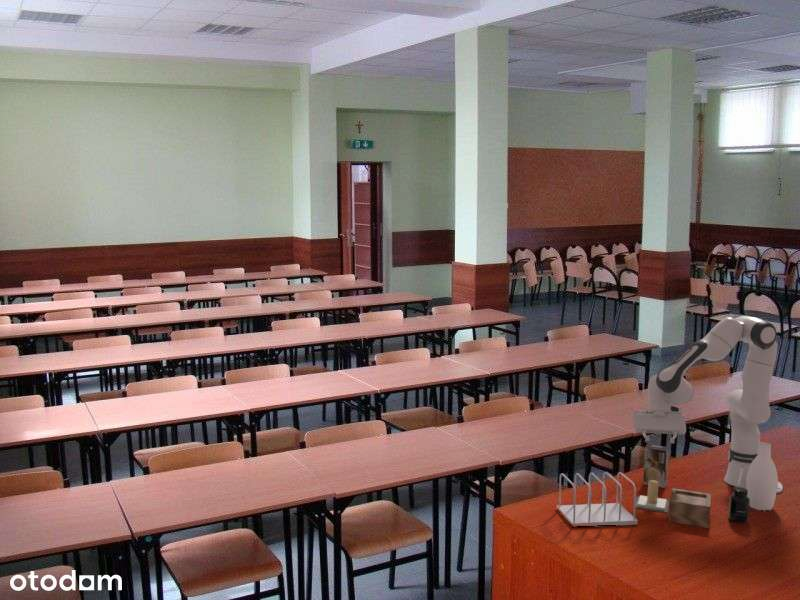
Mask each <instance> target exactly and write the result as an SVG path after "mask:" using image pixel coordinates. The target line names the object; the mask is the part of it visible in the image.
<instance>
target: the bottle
mask: <svg viewBox="0 0 800 600" xmlns="http://www.w3.org/2000/svg"><path fill="white" fill-rule="evenodd" d="M771 449H772V444H771V443H770V442H766V441H760V442H759V448H758V455H757V456H756V458H755V459H754V460H753V461H752V463H751V465H750V467H749V470H748V474H747V483H746V489H747V490H748V495H747V497H749V499H750V507H749V508H751V509H753V508H754V509H753V510H756V509H757V511H761V510H763V511H762V512H767V511H766V510H769V511H772V510H773V508H774V504H775V501H776V498H777V493H776V492H777V485H778V482H779V478H778V471H777V468H776V464H775V462H774V461H773V459H772V456H771V454H772V453H771V452H772V450H771Z"/></svg>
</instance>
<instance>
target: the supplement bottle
mask: <svg viewBox="0 0 800 600" xmlns="http://www.w3.org/2000/svg"><path fill="white" fill-rule="evenodd" d="M732 493H733V494H731V495H730V497H729V506H728V516H727V517H728V519H729V520H730V521H732V522H734V523H737V524H746V523H747V522H749V516H750V515H749V514H750V507H749V506H750V499H749V497H747V495H748V490H747V489H745V488H742V487H735V486H734V487H733V492H732Z"/></svg>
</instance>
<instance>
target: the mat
mask: <svg viewBox="0 0 800 600" xmlns="http://www.w3.org/2000/svg"><path fill="white" fill-rule="evenodd" d="M639 498H640V496H636V509H637V510H638V509H639V510H644V511H650V512H651V511H652V512H657V513H662V514H668V512H669V501H670V500H669V501H668V500H667V502H666V506H665V511H663V510H656V509H650V508H644V507H638V506H637V504H638V501H639Z"/></svg>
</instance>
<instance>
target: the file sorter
mask: <svg viewBox="0 0 800 600" xmlns="http://www.w3.org/2000/svg"><path fill="white" fill-rule="evenodd" d="M606 475H607V476H608V477H609V478H610V479H611V480H612V481H614V482H615V483H616V493H615V495H616V498H615V500H616V501H615V502H614V503H613V502H612V503H609V502H608V503H607V486H606V485H605V478H606ZM577 476H578V477H579V478H580V480H582V482H584V484H586V486H588V489H587V491H588V492H587V503H586V504H576V501H577V500H576V499H577V497H576V496H577V494H576V493H577V492H576V491H577ZM591 476H593V478H594V479H596V480H597V481H598V482H599V483H600V484H601V485H602V489H601V491H602V494H601V495H602V496H601V503H592V488H591ZM620 476H621V477H623V478H625V480H626V481H628V482H629V483H631V484H632V486H633V491H634V492H633V493H634V494H633V514H631V512H629V511H628V510H627V509H626V508H625V507H624V506H623V505H622V501H623V488H622V485H621V483H620V482H619V481H620V480H619V477H620ZM562 477H563V478H564V479H566V480H567V482H568V483H569V484H570V485H571V486H572V487H573V504H565V505H564V504H562V505H561V501H562V499H561V498H562ZM558 485H559V486H558V505H556V509H557V508H558V509H559V510H560V511H561V512H562V514H563V515H564V516H565V517H566V518H567V519H568V521H569V522H570V523H571V524H572V525H594V526H595V527H597V526H596V525H616V526H633V525H637V526H638V523H639V522H638V519H637V518H636V509H637V508H636V500H637V489H636V488H637V487H636V485H635V482H634V481H632V480H631V479H630V478H629V477H628V476H627V475H625V474H624V473H622V472H621V471H618V473H617V475H616V478H615V477H614V476H612V475H611V474H610V473H609V472H608V471H604V472H603V475H602V480H601V479H600V478H599V477H598V476H597V475H595V473H594V472H590V473H589V474H588V482H587V481H586V479H584V478H583V477H582V475H581V474H580V473H578V472H576V473H575V474H574V482H572V481H571V480H570V478H568V477H567V476H566V475H565V474H564V473H560V474H559V484H558ZM619 489H620V495H619Z"/></svg>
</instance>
